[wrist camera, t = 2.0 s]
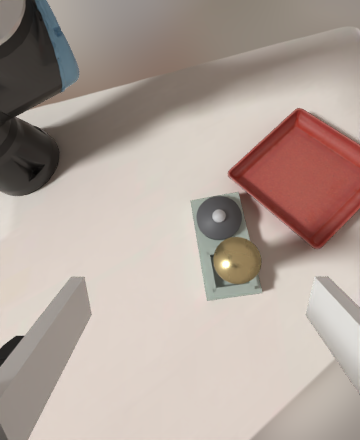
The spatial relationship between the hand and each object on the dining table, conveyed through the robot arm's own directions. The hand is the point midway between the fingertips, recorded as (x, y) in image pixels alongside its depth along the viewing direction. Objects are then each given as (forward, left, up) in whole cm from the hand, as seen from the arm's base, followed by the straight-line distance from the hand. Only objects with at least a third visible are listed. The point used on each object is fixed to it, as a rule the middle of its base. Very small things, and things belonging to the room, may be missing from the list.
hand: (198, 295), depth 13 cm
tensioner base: (-7, +4, -23) cm, 25 cm away
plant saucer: (-16, +19, -24) cm, 34 cm away
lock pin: (-3, +4, -21) cm, 22 cm away
